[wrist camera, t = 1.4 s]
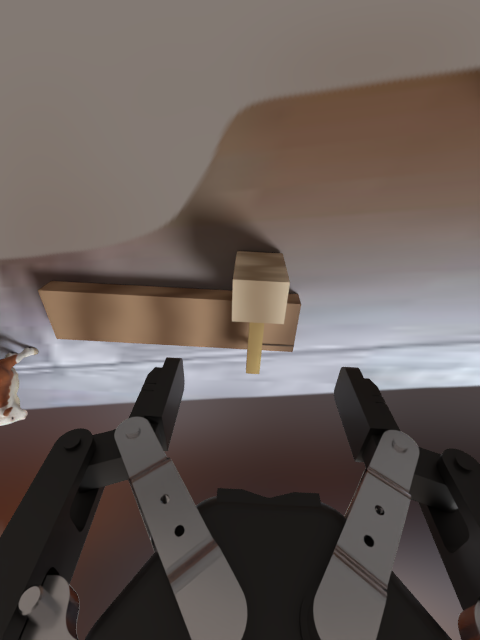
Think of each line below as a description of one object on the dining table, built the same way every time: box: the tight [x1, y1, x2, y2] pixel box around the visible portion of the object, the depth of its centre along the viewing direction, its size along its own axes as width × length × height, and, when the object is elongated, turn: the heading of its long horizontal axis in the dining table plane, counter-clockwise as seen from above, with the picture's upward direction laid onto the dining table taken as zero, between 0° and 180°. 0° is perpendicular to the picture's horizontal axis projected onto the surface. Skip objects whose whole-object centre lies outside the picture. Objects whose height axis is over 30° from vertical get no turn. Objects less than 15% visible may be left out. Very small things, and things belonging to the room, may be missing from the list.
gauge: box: [232, 251, 290, 374], centre depth 25 cm, size 4×10×6 cm, turn 178°
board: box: [38, 281, 301, 352], centre depth 28 cm, size 24×6×2 cm, turn 88°
